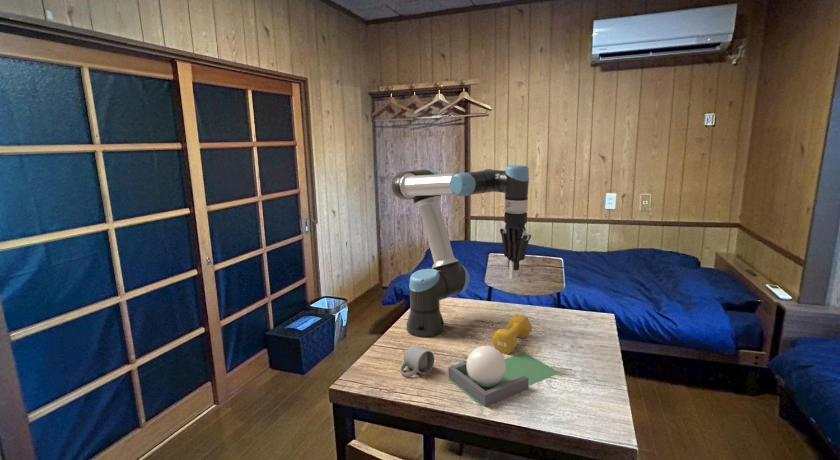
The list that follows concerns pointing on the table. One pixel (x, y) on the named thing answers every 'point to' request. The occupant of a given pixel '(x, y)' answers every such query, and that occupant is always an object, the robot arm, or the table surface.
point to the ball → (486, 366)
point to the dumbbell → (511, 334)
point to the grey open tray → (480, 394)
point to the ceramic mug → (417, 360)
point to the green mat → (520, 371)
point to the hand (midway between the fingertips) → (513, 278)
